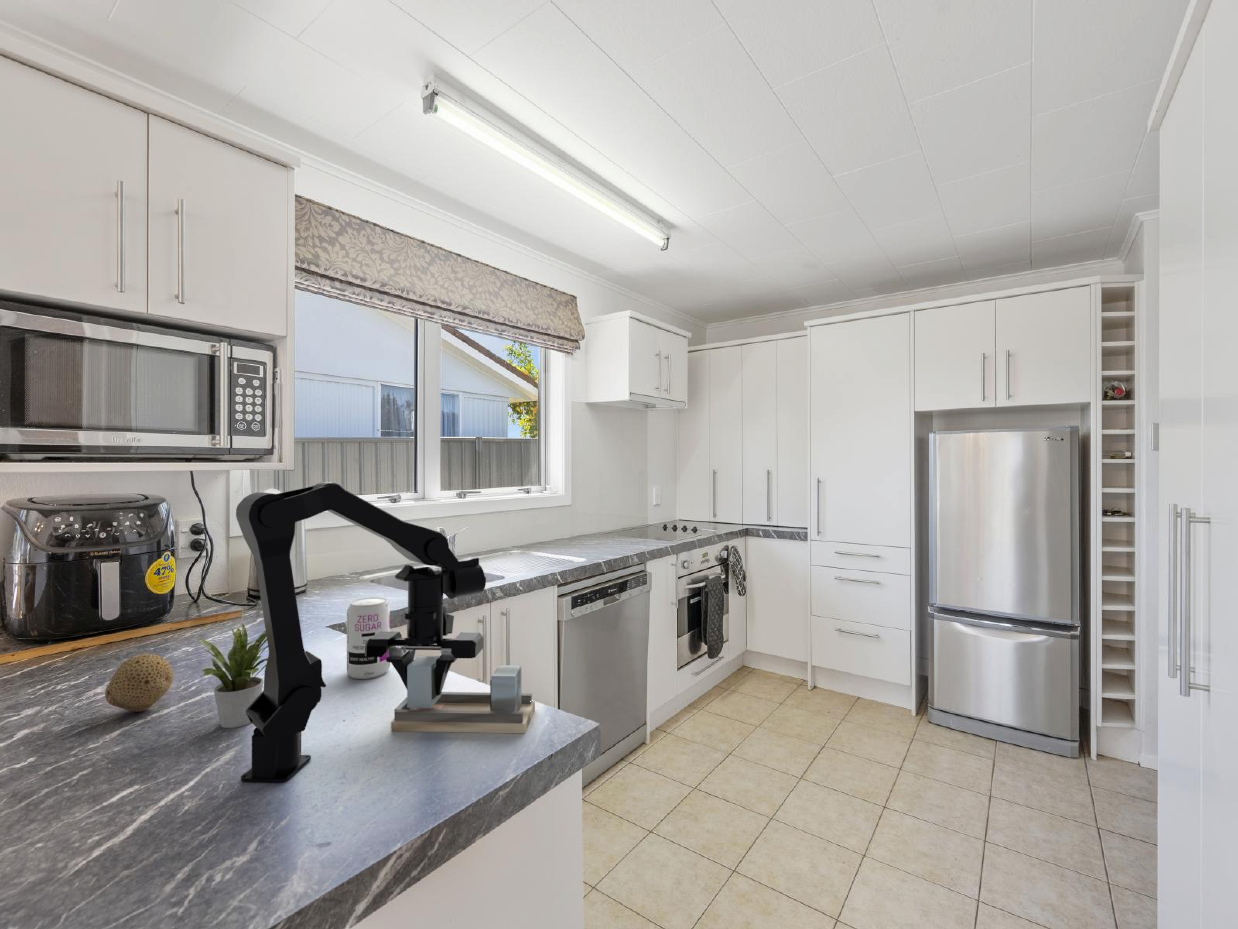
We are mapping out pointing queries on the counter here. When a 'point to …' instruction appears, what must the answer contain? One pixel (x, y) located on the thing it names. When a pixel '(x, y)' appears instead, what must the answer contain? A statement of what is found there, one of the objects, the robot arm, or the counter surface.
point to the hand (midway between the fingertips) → (425, 694)
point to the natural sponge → (139, 682)
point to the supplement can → (366, 636)
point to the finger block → (422, 682)
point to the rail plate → (473, 709)
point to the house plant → (236, 678)
